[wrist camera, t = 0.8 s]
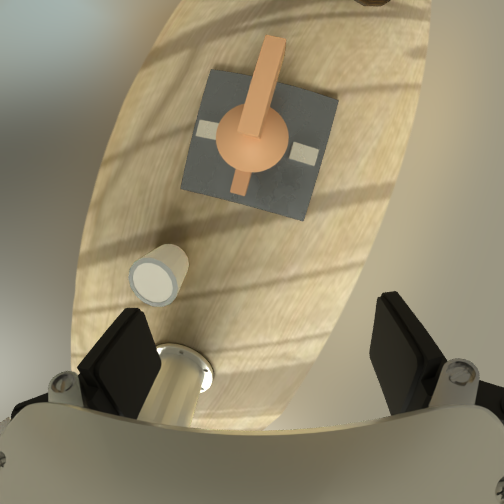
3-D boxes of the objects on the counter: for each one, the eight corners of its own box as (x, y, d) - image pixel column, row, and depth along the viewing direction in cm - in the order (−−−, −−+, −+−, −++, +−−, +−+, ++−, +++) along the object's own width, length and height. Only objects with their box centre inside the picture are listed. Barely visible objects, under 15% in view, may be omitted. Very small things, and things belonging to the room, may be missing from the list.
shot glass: (171, 230, 37) (151, 246, 30) (202, 267, 38) (188, 291, 32) (141, 256, 39) (118, 276, 32) (170, 291, 40) (153, 315, 34)
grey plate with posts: (302, 219, 35) (310, 238, 27) (183, 187, 35) (158, 198, 27) (336, 102, 29) (354, 88, 21) (213, 71, 29) (195, 51, 21)
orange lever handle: (271, 200, 26) (270, 213, 21) (207, 184, 26) (190, 192, 21) (308, 67, 21) (317, 47, 16) (243, 52, 21) (235, 29, 16)
